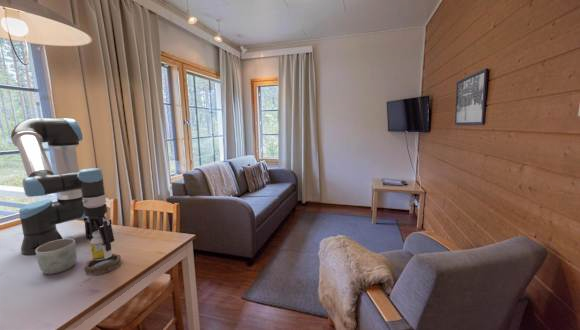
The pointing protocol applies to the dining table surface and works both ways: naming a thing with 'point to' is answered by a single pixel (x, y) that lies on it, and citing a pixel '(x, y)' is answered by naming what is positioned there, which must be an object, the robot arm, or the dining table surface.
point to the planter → (56, 255)
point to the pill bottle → (97, 246)
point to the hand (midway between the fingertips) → (102, 255)
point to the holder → (102, 265)
